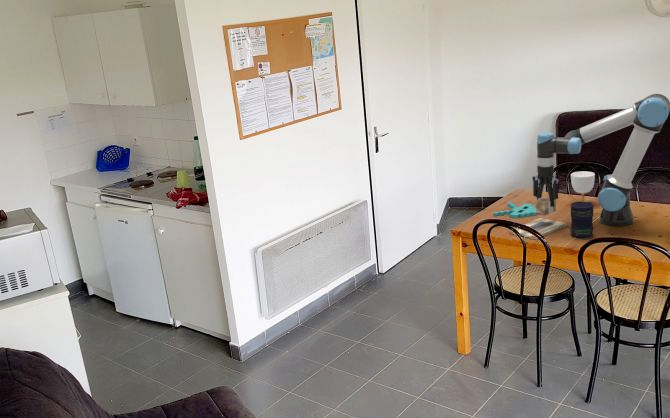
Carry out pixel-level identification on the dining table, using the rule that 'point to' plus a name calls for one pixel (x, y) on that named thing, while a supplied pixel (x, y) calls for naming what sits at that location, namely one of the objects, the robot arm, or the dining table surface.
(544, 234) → the board
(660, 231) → the dining table surface
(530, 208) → the alien figure
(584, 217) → the storage jar
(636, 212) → the dining table surface
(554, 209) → the block
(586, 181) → the cup
